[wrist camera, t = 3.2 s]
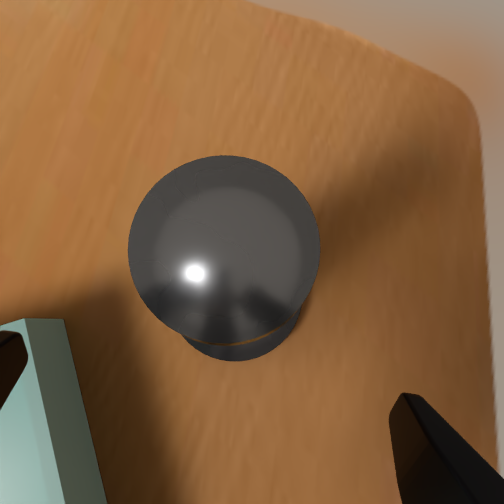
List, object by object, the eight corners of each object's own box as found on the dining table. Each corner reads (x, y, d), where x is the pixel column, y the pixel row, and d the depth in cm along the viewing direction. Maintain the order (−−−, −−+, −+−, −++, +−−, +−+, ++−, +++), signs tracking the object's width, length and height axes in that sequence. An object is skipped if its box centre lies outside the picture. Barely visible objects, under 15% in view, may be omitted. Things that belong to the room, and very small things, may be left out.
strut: (286, 317, 19) (354, 309, 8) (208, 344, 19) (154, 378, 7) (260, 242, 20) (286, 128, 8) (185, 266, 20) (101, 183, 8)
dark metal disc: (319, 334, 20) (321, 335, 19) (191, 378, 19) (190, 380, 19) (276, 213, 21) (277, 210, 21) (154, 251, 21) (152, 249, 20)
